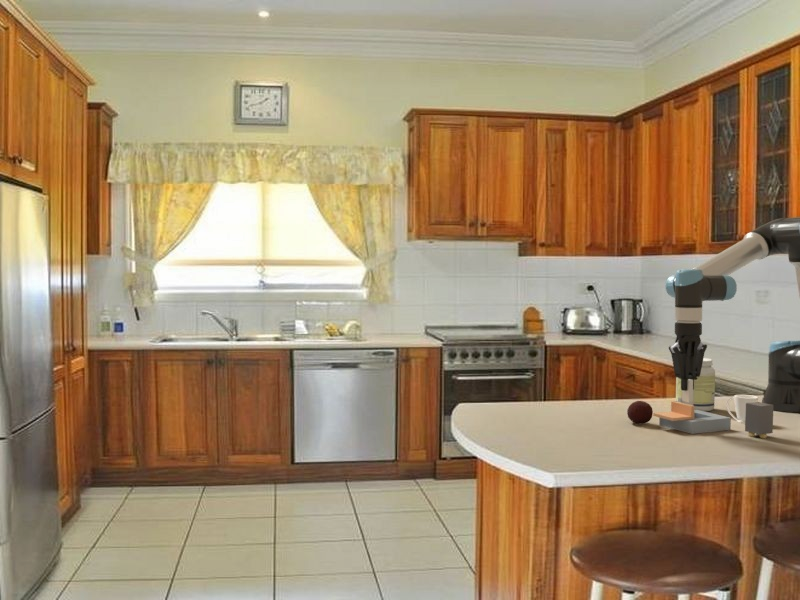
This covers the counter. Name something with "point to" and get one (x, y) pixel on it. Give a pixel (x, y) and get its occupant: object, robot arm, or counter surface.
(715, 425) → the socket block
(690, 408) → the orange l-shaped bracket
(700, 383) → the supplement tub
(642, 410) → the dark brown ball
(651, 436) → the counter surface
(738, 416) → the cup
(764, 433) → the plug
